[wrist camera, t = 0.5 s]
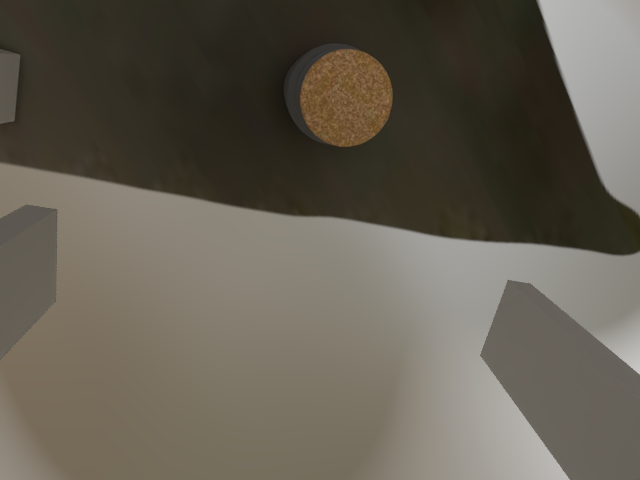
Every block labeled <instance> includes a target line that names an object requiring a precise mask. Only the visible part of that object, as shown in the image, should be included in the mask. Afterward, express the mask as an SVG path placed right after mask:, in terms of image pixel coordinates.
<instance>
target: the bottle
mask: <svg viewBox="0 0 640 480" xmlns="http://www.w3.org/2000/svg"><path fill="white" fill-rule="evenodd" d="M283 92H284V99H285V103H286V106H287V108H288V111H289V113H290V115H291V117H292V119H293V121H294V122H295V124H296V125H297V126H298V128H299V129H300V130H301V131H302V132H303V133H304V134H305V135H307V136H308V137H310V138H311V139H313V140H315V141H317V142H320V143H324V144H329V145H335V146H340V147H349V146H356V145H359V144H362V143H364V142H366V141H368V140H370V139H371V138H373V137H374V136H375V135H376V134H377V133H378V132H379V131H380V130H381V129H382V127H383V126H384V125H385V123H386V121H387V119H388V117H389V115H390V111H391V108H392V101H393V91H392V86H391V82H390V79H389V77H388V74H387V72H386V71H385V69H384V68H383V66H382V65H381V64H380V63H379V62H378V61H377V60H376V59H375V58H373V57H372V56H370V55H369V54H367V53H365V52H362V51H361V50H359V49H357V48H355V47H353V46H350V45H347V44H343V43H330V44H324V45H321V46H318V47H316V48H314V49H312V50H310V51H308V52H307V53H305V54H304V55H302V56H301V57H300V58H299V59H297V60H296V61H295V62H294V63H293V64H292V66H291V67H290V69H289V70H288V72H287V75H286V77H285V81H284V88H283Z"/></svg>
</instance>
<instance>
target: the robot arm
mask: <svg viewBox="0 0 640 480" xmlns="http://www.w3.org/2000/svg"><path fill="white" fill-rule="evenodd" d="M56 258H57V209H50V208H44V207H37V206H32V205H25V206H23V207H21V208H19V209H17V210H15V211H14V212H12V213H10V214H8V215H6V216H4V217H3V218H1V219H0V360H1V358H3V356H4V355H5V354H6V353H7V352H8V351H9V350H10V349H11V348H12V347H13V346H14V345H15V344H16V343H17V342H18V341H19V339H21V337H22V336H23V335H24V334H25V333H26V332H27V331H28V330H29V329H30V328H31V327H32V326H33V325H34V324H35V323H36V322H37V321H38V319H39V318H40V317H41V316H42V315H43V314H44V313H45V312H46V311H47V310H48V309H49V308H50V307H51V306H52V305H53V304H54V302H55V301H56V261H57V259H56ZM480 356H481V357H482V358H483V360H484V361H485V362H486V364H487V365H488V367H489V368H490V369H491V371H492V372H493V374H494V375H495V376H496V378H497V379H498V380H499V382H500V383H501V384H502V386H503V387H504V389H505V390H506V392H507V393H508V394H509V396H510V397H511V398H512V400H513V401H514V403H515V404H516V405H517V407H518V408H519V410H520V411H521V412H522V413H523V415H524V416H525V418H526V419H527V421H528V422H529V423H530V425H531V426H532V428H533V429H534V430H535V432H536V433H537V434H538V436H539V437H540V438H541V440H542V441H543V443H544V444H545V446H546V447H547V448H548V450H549V451H550V452H551V454H552V455H553V457H554V458H555V459H556V461H557V462H558V464H559V465H560V466H561V468H562V469H563V471H564V472H565V473H566V475H567V476H568V477H569V479H570V480H640V375H639V374H638V373H637V372H636V371H634V370H633V369H632V368H631V367H630V366H629V365H627V364H626V363H625V362H624V361H623V360H621V359H620V358H619V357H618V356H617V355H615V354H614V353H613V352H612V351H611V350H609V349H608V348H607V347H605V345H603V344H602V343H601V342H600V341H599V340H597V339H596V338H595V337H594V336H592V335H591V334H590V333H589V332H588V331H587V330H585V329H584V328H583V327H582V326H580V325H579V324H578V323H577V322H576V321H575V320H573V319H572V318H571V317H570V316H569V315H567V314H566V313H565V312H564V311H562V310H561V309H560V308H559V307H558V306H557V305H555V304H554V303H553V302H552V301H551V300H549V299H548V298H547V297H546V296H545V295H543V294H542V293H541V292H540V291H539V290H537V289H536V288H535V287H534V286H533V285H531V284H529V283H523V282H516V281H509V280H508V282H507V284H506V288H505V290H504V293H503V295H502V298H501V301H500V303H499V306H498V309H497V311H496V314H495V317H494V320H493V322H492V325H491V328H490V330H489V333H488V336H487V338H486V341H485V344H484V346H483V349H482V352H481V355H480Z"/></svg>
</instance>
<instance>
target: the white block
mask: <svg viewBox="0 0 640 480" xmlns="http://www.w3.org/2000/svg"><path fill="white" fill-rule="evenodd" d="M19 66H20V55H19V54H16V53H13V52H9V51H6V50H2V49H0V124H1V123H7V122H12V121H15V110H16V99H17V88H18V77H19Z"/></svg>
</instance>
